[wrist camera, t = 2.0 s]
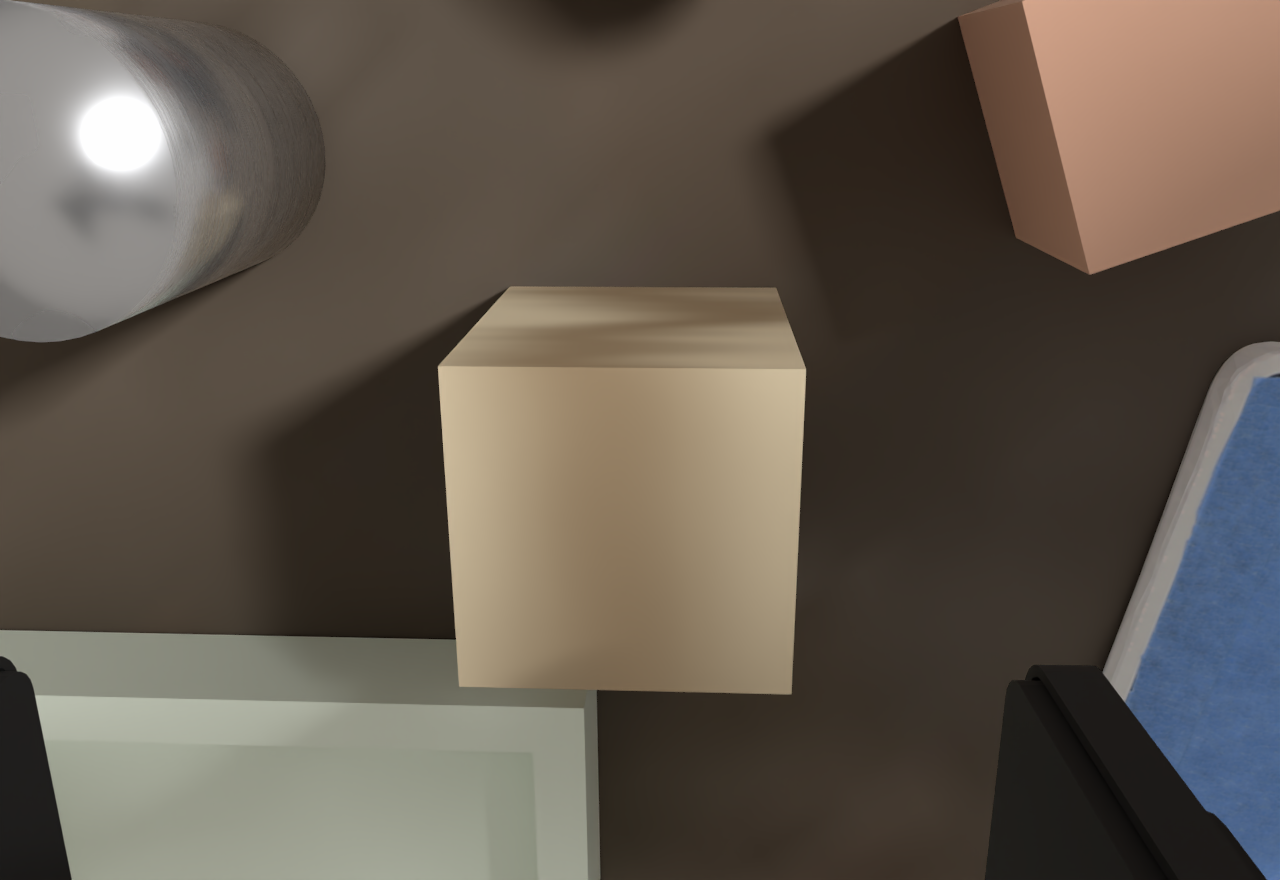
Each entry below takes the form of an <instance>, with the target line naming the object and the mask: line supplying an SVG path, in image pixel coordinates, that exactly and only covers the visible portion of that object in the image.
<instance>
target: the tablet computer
mask: <svg viewBox="0 0 1280 880" xmlns="http://www.w3.org/2000/svg"><path fill="white" fill-rule="evenodd" d="M1102 673H1103V674H1104V675H1105V677H1106V678H1107V679H1108V681H1109V682H1110V683H1111V685H1112V686H1113V687H1114V689H1115V690H1116V691H1117V693H1118V694H1119V695H1120V697H1121V698H1122V699H1123V701H1124V702H1125V703H1126V705H1127V706H1128V707H1129V709H1130V710H1131V711H1132V713H1133V714H1134V715H1135V717H1136V718H1137V719H1138V721H1139V722H1140V723H1141V725H1142V726H1143V727H1144V729H1145V730H1146V731H1147V733H1148V734H1149V735H1150V737H1151V738H1152V739H1153V741H1154V742H1155V743H1156V745H1157V746H1158V747H1159V749H1160V750H1161V751H1162V753H1163V754H1164V755H1165V757H1166V758H1167V759H1168V761H1169V762H1170V763H1171V765H1172V766H1173V767H1174V769H1175V770H1176V771H1177V773H1178V774H1179V775H1180V777H1181V778H1182V779H1183V781H1184V782H1185V783H1186V785H1187V786H1188V787H1189V789H1190V790H1191V791H1192V793H1193V794H1194V795H1195V797H1196V798H1197V799H1198V801H1199V802H1200V803H1201V805H1202V806H1203V807H1204V809H1205V810H1206V811H1208V812H1211V813H1214V814H1215V815H1216V816H1217V817H1218V818H1219V819H1220V820H1221V821H1222V822H1223V823H1224V824H1225V825H1226V826H1227V828H1228V829H1229V830H1230V832H1231V833H1232V834H1233V836H1234V837H1235V838H1236V840H1237V841H1238V842H1239V843H1240V845H1241V846H1242V847H1243V849H1244V850H1245V851H1246V853H1247V854H1248V855H1249V857H1250V858H1251V859H1252V861H1253V862H1254V863H1255V864H1256V866H1257V867H1258V868H1259V870H1260V871H1261V872H1262V874H1263V875H1264V876H1265V878H1266V879H1267V880H1280V342H1273V341H1269V342H1262V343H1255V344H1250V345H1248V346H1245V347H1243V348H1241V349H1239V350H1238V351H1236V352H1235V353H1234V354H1232V355H1231V356H1230V357H1229V358H1228V359H1227V360H1226V361H1225V362H1224V363H1223V364H1222V366H1221V367H1220V368H1219V370H1218V371H1217V373H1216V375H1215V377H1214V378H1213V380H1212V382H1211V384H1210V387H1209V389H1208V392H1207V395H1206V397H1205V400H1204V403H1203V405H1202V408H1201V411H1200V413H1199V416H1198V419H1197V421H1196V424H1195V427H1194V430H1193V432H1192V435H1191V438H1190V441H1189V443H1188V446H1187V449H1186V452H1185V454H1184V457H1183V460H1182V462H1181V465H1180V468H1179V471H1178V473H1177V476H1176V479H1175V482H1174V484H1173V487H1172V490H1171V493H1170V495H1169V498H1168V501H1167V503H1166V506H1165V509H1164V512H1163V514H1162V517H1161V520H1160V522H1159V525H1158V528H1157V531H1156V533H1155V536H1154V539H1153V541H1152V544H1151V547H1150V549H1149V552H1148V555H1147V557H1146V560H1145V563H1144V565H1143V568H1142V571H1141V574H1140V576H1139V579H1138V581H1137V584H1136V587H1135V589H1134V592H1133V594H1132V597H1131V599H1130V602H1129V605H1128V607H1127V610H1126V612H1125V615H1124V617H1123V620H1122V623H1121V625H1120V628H1119V630H1118V633H1117V636H1116V638H1115V641H1114V643H1113V646H1112V648H1111V651H1110V654H1109V656H1108V659H1107V661H1106V664H1105V667H1104V669H1103V672H1102Z"/></svg>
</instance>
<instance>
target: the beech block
mask: <svg viewBox="0 0 1280 880" xmlns="http://www.w3.org/2000/svg"><path fill="white" fill-rule="evenodd" d="M438 376H439V391H440V406H441V421H442V436H443V451H444V467H445V482H446V497H447V512H448V527H449V542H450V557H451V572H452V587H453V602H454V617H455V632H456V647H457V662H458V677H459V687H491V688H535V689H578V690H621V691H664V692H707V693H751V694H791V693H792V671H793V649H794V627H795V605H796V583H797V561H798V539H799V517H800V495H801V473H802V451H803V429H804V407H805V385H806V367H805V365H804V362H803V359H802V357H801V354H800V351H799V348H798V346H797V343H796V340H795V338H794V335H793V332H792V330H791V327H790V324H789V322H788V319H787V316H786V313H785V311H784V308H783V305H782V303H781V300H780V297H779V295H778V292H777V289H776V288H735V287H509V288H508V289H507V290H506V291H505V292H504V294H503V295H502V296H501V297H500V298H499V299H498V300H497V301H496V302H495V303H494V305H493V306H492V307H491V308H490V309H489V310H488V311H487V312H486V313H485V315H484V316H483V317H482V318H481V319H480V320H479V321H478V322H477V323H476V325H475V326H474V327H473V328H472V329H471V330H470V331H469V332H468V333H467V335H466V336H465V337H464V338H463V339H462V340H461V341H460V342H459V343H458V344H457V346H456V347H455V348H454V349H453V350H452V351H451V352H450V353H449V354H448V356H447V357H446V358H445V359H444V360H443V361H442V362H441V363H440V364H439V366H438Z"/></svg>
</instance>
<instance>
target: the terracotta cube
mask: <svg viewBox="0 0 1280 880" xmlns="http://www.w3.org/2000/svg"><path fill="white" fill-rule="evenodd" d="M958 20H959V24H960V28H961V32H962V35H963V39H964V43H965V47H966V51H967V54H968V58H969V62H970V66H971V69H972V73H973V77H974V81H975V85H976V88H977V92H978V96H979V100H980V103H981V107H982V111H983V115H984V119H985V122H986V126H987V130H988V134H989V137H990V141H991V145H992V149H993V153H994V156H995V160H996V164H997V168H998V171H999V175H1000V179H1001V183H1002V187H1003V190H1004V194H1005V198H1006V202H1007V205H1008V209H1009V213H1010V217H1011V221H1012V224H1013V228H1014V232H1015V236H1016V238H1017V239H1019V240H1021V241H1023V242H1025V243H1027V244H1029V245H1031V246H1033V247H1035V248H1037V249H1039V250H1041V251H1043V252H1045V253H1047V254H1049V255H1051V256H1053V257H1055V258H1057V259H1059V260H1061V261H1063V262H1065V263H1067V264H1069V265H1071V266H1073V267H1075V268H1077V269H1079V270H1081V271H1083V272H1085V273H1087V274H1089V275H1091V274H1094V273H1097V272H1100V271H1103V270H1106V269H1108V268H1111V267H1114V266H1117V265H1120V264H1123V263H1126V262H1129V261H1132V260H1135V259H1138V258H1141V257H1144V256H1147V255H1150V254H1153V253H1156V252H1159V251H1162V250H1165V249H1168V248H1170V247H1173V246H1176V245H1179V244H1182V243H1185V242H1188V241H1191V240H1194V239H1197V238H1200V237H1203V236H1206V235H1209V234H1212V233H1215V232H1218V231H1221V230H1224V229H1227V228H1230V227H1232V226H1235V225H1238V224H1241V223H1244V222H1247V221H1250V220H1253V219H1256V218H1259V217H1262V216H1265V215H1268V214H1271V213H1274V212H1277V211H1280V0H1000V1H998V2H995V3H993V4H990V5H987V6H985V7H982V8H980V9H977V10H974V11H972V12H969V13H967V14H964V15H961V16H959V17H958Z"/></svg>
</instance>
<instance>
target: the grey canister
mask: <svg viewBox="0 0 1280 880" xmlns="http://www.w3.org/2000/svg"><path fill="white" fill-rule="evenodd" d="M324 175H325V148H324V141H323V135H322V131H321V127H320V124H319V120H318V117H317V114H316V112H315V110H314V107H313V105H312V102H311V100H310V99H309V97H308V95H307V93H306V92H305V90H304V88H303V86H302V85H301V84H300V82H299V81H298V79H297V78H296V77H295V75H294V74H293V73H292V71H291V70H290V69H289V68H288V67H287V66H286V65H285V64H284V63H283V62H282V61H281V60H280V59H279V58H278V57H277V56H276V55H275V54H273V53H272V52H271V51H270V50H269V49H267V48H266V47H264V46H263V45H261V44H260V43H258V42H257V41H255V40H254V39H252V38H250V37H248V36H246V35H244V34H242V33H240V32H238V31H235V30H232V29H229V28H226V27H223V26H219V25H214V24H209V23H202V22H194V21H185V20H176V19H168V18H159V17H150V16H141V15H133V14H124V13H115V12H106V11H98V10H89V9H80V8H72V7H63V6H54V5H45V4H37V3H28V2H19V1H10V0H0V337H4V338H9V339H14V340H19V341H30V342H55V341H64V340H69V339H74V338H79V337H82V336H85V335H88V334H91V333H94V332H97V331H99V330H102V329H104V328H106V327H109V326H111V325H113V324H116V323H118V322H121V321H123V320H125V319H128V318H130V317H133V316H135V315H137V314H140V313H142V312H144V311H147V310H149V309H152V308H154V307H156V306H159V305H161V304H163V303H166V302H168V301H171V300H173V299H175V298H178V297H180V296H182V295H185V294H187V293H190V292H192V291H194V290H197V289H199V288H201V287H204V286H206V285H209V284H211V283H213V282H216V281H218V280H220V279H223V278H225V277H228V276H230V275H232V274H235V273H237V272H239V271H242V270H244V269H247V268H249V267H251V266H254V265H256V264H259V263H261V262H263V261H265V260H267V259H269V258H271V257H273V256H275V255H277V254H278V253H280V252H281V251H282V250H284V249H285V248H286V247H288V246H289V245H290V244H291V243H292V242H293V241H294V240H295V239H296V238H297V237H298V236H299V235H300V234H301V232H302V231H303V230H304V228H305V227H306V226H307V224H308V223H309V221H310V219H311V217H312V216H313V214H314V212H315V210H316V207H317V204H318V202H319V199H320V196H321V192H322V188H323V183H324Z"/></svg>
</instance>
